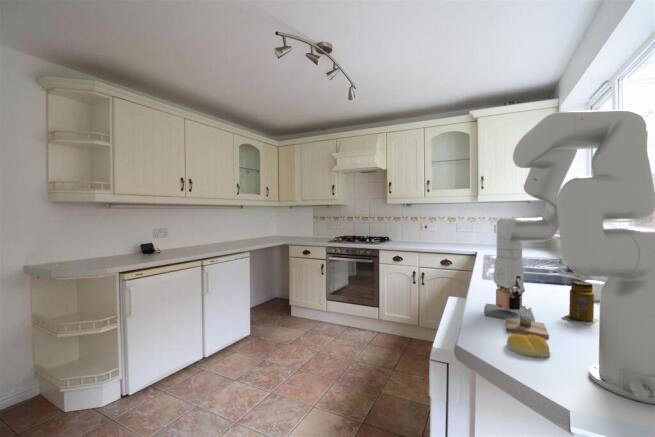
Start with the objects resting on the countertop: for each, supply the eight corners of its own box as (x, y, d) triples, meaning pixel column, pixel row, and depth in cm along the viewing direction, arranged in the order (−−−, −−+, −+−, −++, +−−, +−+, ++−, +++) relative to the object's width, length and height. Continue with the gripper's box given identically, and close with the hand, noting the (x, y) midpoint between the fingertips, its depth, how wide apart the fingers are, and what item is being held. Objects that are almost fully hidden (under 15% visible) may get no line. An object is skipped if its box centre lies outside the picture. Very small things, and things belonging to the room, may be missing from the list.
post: (531, 328, 86) (531, 309, 86) (520, 326, 88) (520, 307, 88) (530, 324, 89) (531, 306, 89) (519, 323, 90) (519, 305, 90)
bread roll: (503, 342, 80) (503, 327, 80) (541, 346, 78) (541, 331, 78) (512, 356, 72) (512, 340, 72) (555, 361, 70) (555, 344, 70)
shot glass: (580, 297, 122) (580, 280, 121) (589, 295, 124) (589, 279, 124) (601, 302, 115) (601, 284, 115) (610, 300, 118) (610, 282, 118)
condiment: (598, 320, 96) (599, 283, 96) (589, 325, 91) (590, 287, 91) (570, 313, 102) (571, 279, 102) (560, 318, 97) (561, 282, 97)
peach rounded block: (502, 309, 100) (503, 291, 99) (493, 304, 105) (493, 287, 105) (524, 309, 100) (524, 291, 99) (513, 304, 105) (514, 287, 105)
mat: (535, 323, 93) (535, 321, 93) (484, 316, 100) (484, 314, 100) (530, 311, 105) (531, 309, 105) (486, 304, 112) (486, 303, 112)
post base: (548, 339, 81) (548, 335, 81) (506, 332, 86) (506, 328, 86) (543, 327, 90) (544, 323, 90) (505, 321, 95) (505, 317, 95)
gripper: (485, 250, 111) (484, 299, 111) (513, 257, 93) (513, 314, 94) (505, 250, 111) (504, 299, 111) (537, 257, 93) (537, 314, 94)
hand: (508, 305), depth 102 cm, fingers closed on peach rounded block, 5 cm apart
